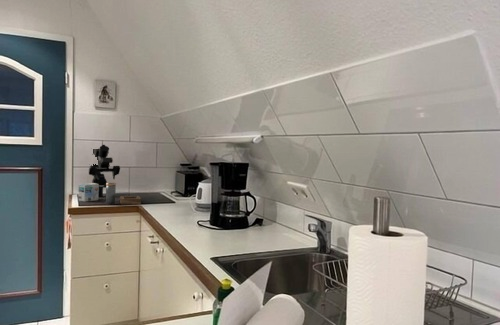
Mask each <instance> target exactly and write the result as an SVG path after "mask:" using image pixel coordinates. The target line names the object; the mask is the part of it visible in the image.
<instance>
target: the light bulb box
mask: <svg viewBox="0 0 500 325" xmlns="http://www.w3.org/2000/svg"><path fill="white" fill-rule="evenodd" d="M98 194H99V184H96V183H92V182H88V183H79V184H78V201H79V202H93V201H99V197H98Z"/></svg>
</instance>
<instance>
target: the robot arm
mask: <svg viewBox="0 0 500 325" xmlns="http://www.w3.org/2000/svg"><path fill="white" fill-rule="evenodd" d="M109 151H110V148H109V146H107V145H106V144H102V145H100V147H99V148H98V149H93V154H92V155H95V157H97V160H98V165H96V164H95V165H94V164H93V166H92V165H90V166H89V167H88V168H89V169H88V175H90V176H93V179H92V181H91V183H96V184H99V194H98V198H105V196H104V188H105V189H106V183H108V181H107V179H106V177H105V174H104V173H112V179H113V180H115V179H116V176H117V175H120V170H121V166H120V165H113V166H112V168H110V166H111V164H112V163H113V162H114V160H113V157H108V155H109Z"/></svg>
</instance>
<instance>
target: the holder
mask: <svg viewBox="0 0 500 325" xmlns="http://www.w3.org/2000/svg"><path fill="white" fill-rule="evenodd" d="M119 202H120V203H119V204H120V205H141V204H142V198H141V197H140V195H124V196H123V195H120V196H119Z"/></svg>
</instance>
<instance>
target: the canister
mask: <svg viewBox="0 0 500 325" xmlns="http://www.w3.org/2000/svg"><path fill="white" fill-rule="evenodd" d="M116 187H117V183H116V182H107V183H106V188H105V205H108V206H110V205H111V206H112V205H113V206H114V205H116V190H117V189H116Z"/></svg>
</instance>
